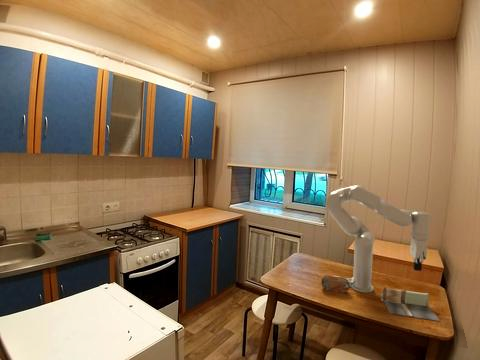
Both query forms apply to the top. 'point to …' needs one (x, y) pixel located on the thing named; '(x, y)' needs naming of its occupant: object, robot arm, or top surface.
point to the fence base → (405, 305)
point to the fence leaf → (417, 298)
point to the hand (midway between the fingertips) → (417, 269)
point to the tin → (335, 283)
